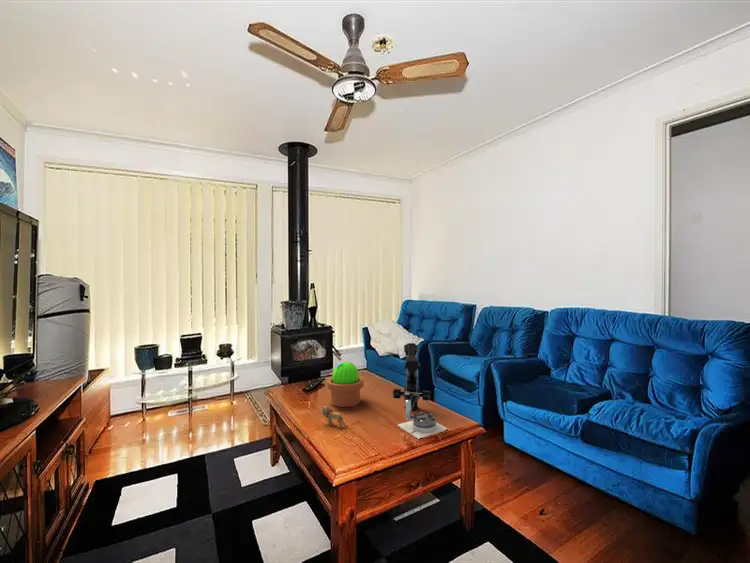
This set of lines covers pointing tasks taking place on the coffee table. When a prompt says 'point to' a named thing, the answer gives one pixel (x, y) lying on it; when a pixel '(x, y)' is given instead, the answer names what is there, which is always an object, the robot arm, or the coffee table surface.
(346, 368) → the potted cactus
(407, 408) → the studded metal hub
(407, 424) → the mounting plate
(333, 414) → the lion figurine
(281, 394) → the coffee table surface
